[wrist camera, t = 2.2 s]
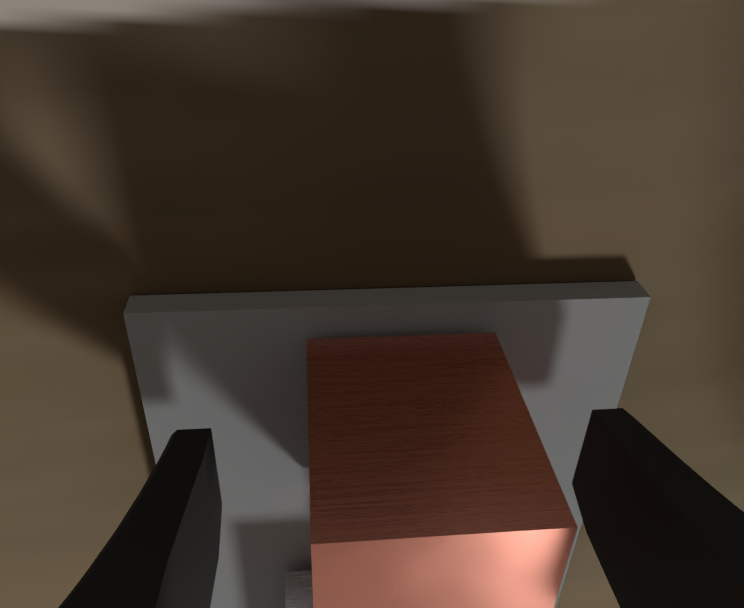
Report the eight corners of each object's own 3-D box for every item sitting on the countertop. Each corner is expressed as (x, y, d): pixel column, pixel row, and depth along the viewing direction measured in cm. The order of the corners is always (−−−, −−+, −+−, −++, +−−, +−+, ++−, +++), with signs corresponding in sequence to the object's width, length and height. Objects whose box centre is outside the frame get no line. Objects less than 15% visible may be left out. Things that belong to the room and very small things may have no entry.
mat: (516, 703, 23) (520, 722, 22) (219, 729, 22) (218, 750, 21) (637, 281, 14) (651, 297, 13) (130, 296, 13) (122, 313, 12)
